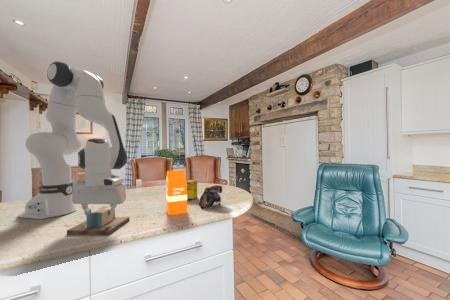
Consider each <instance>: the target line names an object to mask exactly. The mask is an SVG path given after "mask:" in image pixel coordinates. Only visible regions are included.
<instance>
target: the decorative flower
mask: <svg viewBox="0 0 450 300" xmlns="http://www.w3.org/2000/svg"><path fill="white" fill-rule="evenodd" d="M222 191H223V186H222V185H211V186H209V187H205V188H204V191H203V193H202V194H201V196H200V198H199V200H198V201H199V202H198V205H199V206H200V208H201V209H202V210H203V209H206V206H207V205H208V207H212V206H214V204H215V203H216V204H217V203H218V205H219V206H220V205H221V203H222V198H221V195H220V194H223V192H222ZM199 206H198V207H199Z"/></svg>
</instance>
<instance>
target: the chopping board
mask: <svg viewBox="0 0 450 300" xmlns="http://www.w3.org/2000/svg"><path fill="white" fill-rule="evenodd" d="M128 222H130V216H129V217H128V216H115V219H113V220H111V221H110V222H108V223H106V224H105V225H103V226H102V227H100V228H87V220H85V221H83V222H81V223H79V224H77V225H75V226H73V227H71V228H69V229H67V230H66V235H67V236H68V235H69V236H70V235H72V236H73V235H75V236H76V235H77V236H78V235H80V236H83V235H84V236H85V235H87V236H88V235H89V236H98V235H99V236H110V235H111V234H114V232H116V231H117V230H119V229H120V228H122V227H123V226H124V225H126V224H127V223H128Z"/></svg>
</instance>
